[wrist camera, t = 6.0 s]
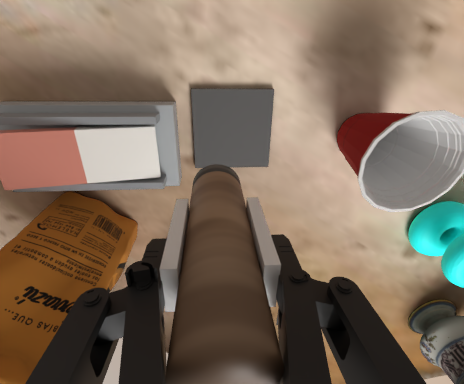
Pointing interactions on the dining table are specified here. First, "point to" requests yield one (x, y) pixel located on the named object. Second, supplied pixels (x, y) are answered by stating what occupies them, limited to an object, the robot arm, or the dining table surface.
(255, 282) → the wooden pestle
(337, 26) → the dining table surface
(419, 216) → the donuts
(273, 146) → the dining table surface
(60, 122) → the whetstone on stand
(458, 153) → the plastic cup
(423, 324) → the apothecary jar
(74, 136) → the rocker
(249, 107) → the mat
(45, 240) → the coffee package
